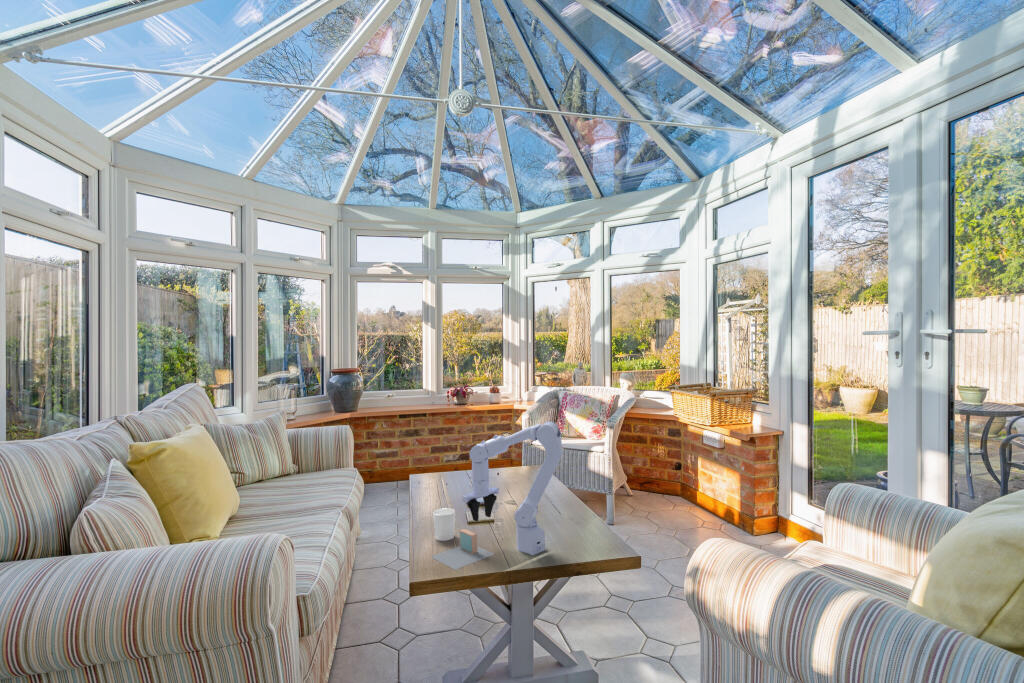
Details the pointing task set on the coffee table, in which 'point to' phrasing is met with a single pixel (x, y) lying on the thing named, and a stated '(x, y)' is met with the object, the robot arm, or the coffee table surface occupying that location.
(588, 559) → the coffee table surface
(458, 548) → the felt mat
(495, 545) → the coffee table surface
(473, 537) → the block
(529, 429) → the robot arm
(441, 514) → the white cup
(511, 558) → the coffee table surface
